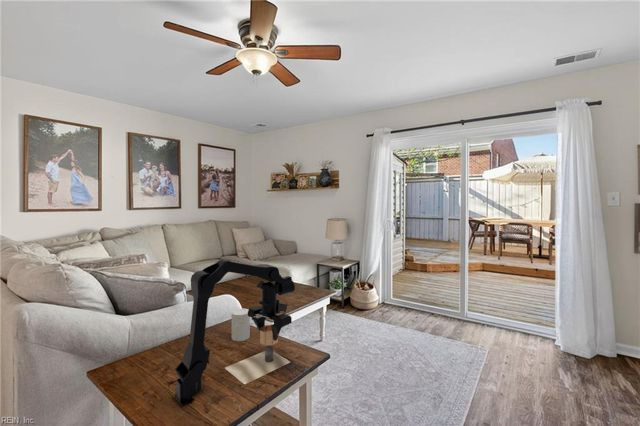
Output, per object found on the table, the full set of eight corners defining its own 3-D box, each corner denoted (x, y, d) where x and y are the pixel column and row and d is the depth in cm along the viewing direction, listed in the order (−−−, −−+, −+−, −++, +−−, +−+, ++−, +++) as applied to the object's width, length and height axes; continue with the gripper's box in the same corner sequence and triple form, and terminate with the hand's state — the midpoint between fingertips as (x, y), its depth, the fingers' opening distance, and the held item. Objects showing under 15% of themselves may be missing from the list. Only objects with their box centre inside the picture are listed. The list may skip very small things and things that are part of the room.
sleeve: (268, 347, 110) (268, 333, 110) (256, 341, 114) (256, 329, 114) (281, 340, 116) (281, 327, 115) (269, 335, 120) (269, 323, 119)
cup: (227, 338, 136) (227, 312, 136) (240, 332, 143) (240, 307, 143) (241, 342, 132) (241, 316, 132) (253, 335, 139) (253, 310, 139)
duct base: (244, 388, 100) (244, 369, 99) (224, 371, 109) (224, 354, 109) (290, 365, 114) (290, 349, 114) (269, 352, 124) (269, 337, 123)
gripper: (301, 297, 115) (300, 336, 116) (267, 288, 126) (267, 324, 127) (281, 305, 106) (281, 348, 107) (246, 295, 117) (246, 334, 118)
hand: (269, 337), depth 115 cm, fingers closed on sleeve, 7 cm apart
